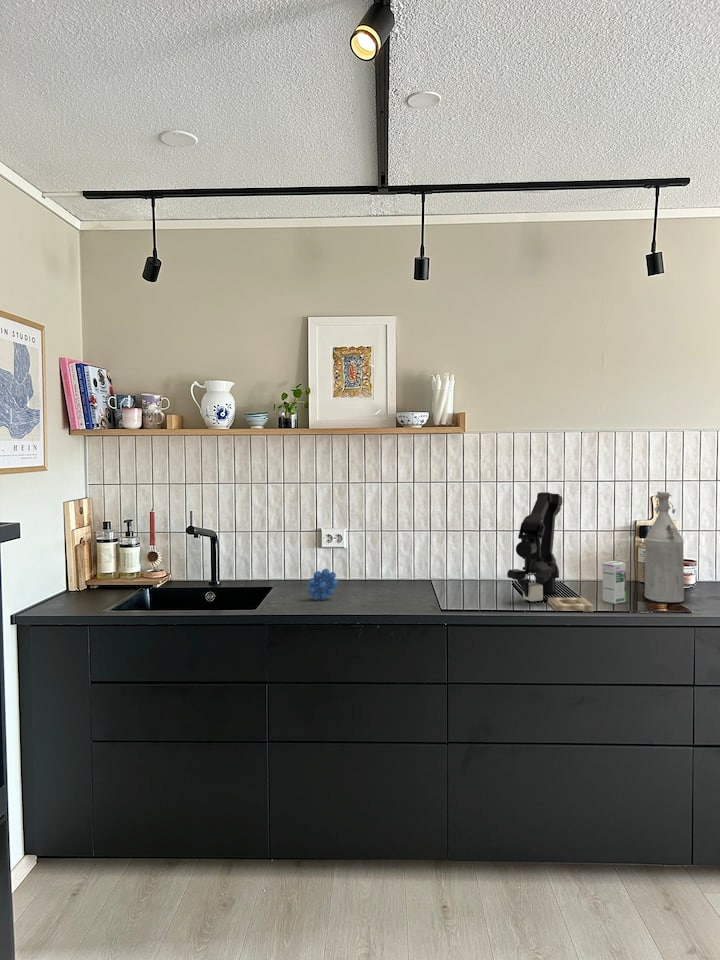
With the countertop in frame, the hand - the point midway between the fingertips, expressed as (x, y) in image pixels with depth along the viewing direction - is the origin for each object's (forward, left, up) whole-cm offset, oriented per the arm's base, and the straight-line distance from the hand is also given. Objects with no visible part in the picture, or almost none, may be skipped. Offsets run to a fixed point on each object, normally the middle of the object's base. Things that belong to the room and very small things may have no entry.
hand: (532, 595), depth 232 cm
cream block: (0, 0, -1) cm, 1 cm away
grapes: (+69, -37, -2) cm, 78 cm away
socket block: (-6, +13, -2) cm, 14 cm away
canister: (-45, +18, -2) cm, 49 cm away
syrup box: (-26, +13, -2) cm, 29 cm away
